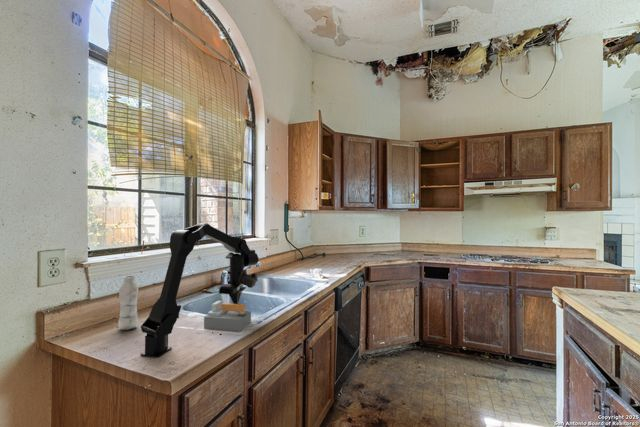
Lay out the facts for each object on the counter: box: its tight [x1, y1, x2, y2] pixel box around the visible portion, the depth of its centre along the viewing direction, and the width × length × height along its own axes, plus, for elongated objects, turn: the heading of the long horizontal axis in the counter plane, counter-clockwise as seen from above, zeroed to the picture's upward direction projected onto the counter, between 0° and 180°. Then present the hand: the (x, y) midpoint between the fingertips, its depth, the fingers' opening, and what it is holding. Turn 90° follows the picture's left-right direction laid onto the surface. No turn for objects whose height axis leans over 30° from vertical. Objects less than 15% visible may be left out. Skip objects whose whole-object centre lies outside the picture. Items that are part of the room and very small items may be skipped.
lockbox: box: [203, 310, 252, 333], centre depth 118 cm, size 10×15×5 cm, turn 79°
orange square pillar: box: [222, 302, 246, 315], centre depth 117 cm, size 2×9×4 cm, turn 79°
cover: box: [207, 300, 227, 316], centre depth 119 cm, size 7×5×4 cm
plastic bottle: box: [117, 275, 140, 331], centre depth 112 cm, size 6×7×20 cm
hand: (236, 305), depth 123 cm, fingers closed
